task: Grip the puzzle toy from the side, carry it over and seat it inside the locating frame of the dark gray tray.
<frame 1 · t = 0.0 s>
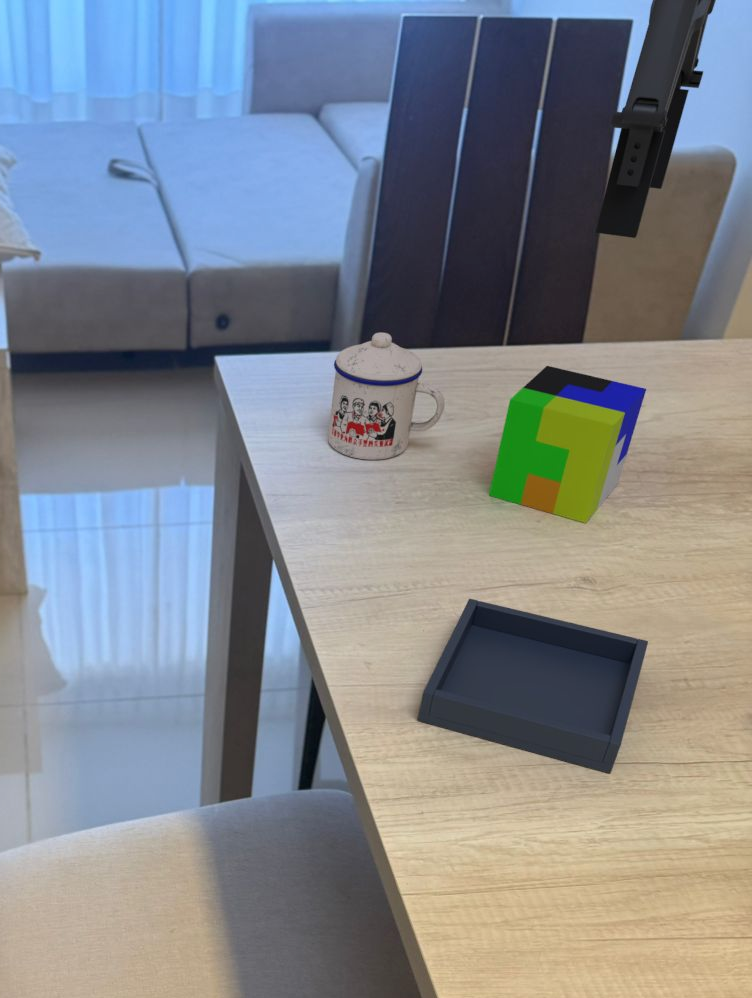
hand: (630, 209, 85), 31 cm above the table, tool pointing down, fingers open, 13 cm apart
dark gray tray: (530, 694, 92), on the table
puzzle toy: (553, 491, 118), on the table
teacup with lid: (380, 447, 125), on the table
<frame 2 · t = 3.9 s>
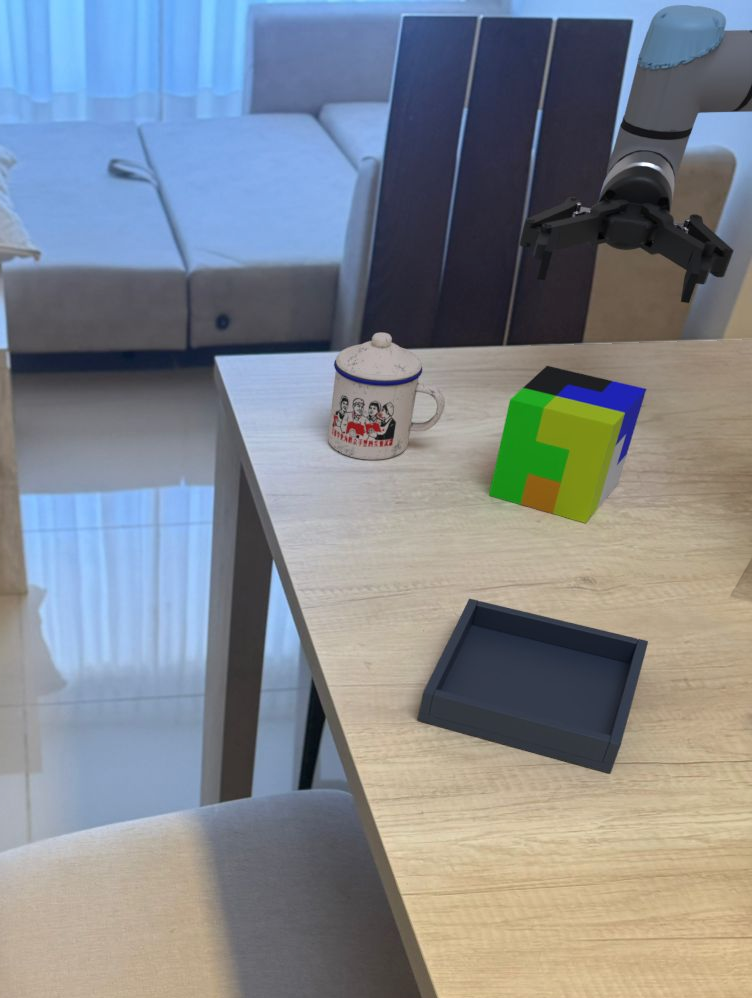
hand: (616, 277, 111), 18 cm above the table, tool horizontal, fingers open, 13 cm apart
nothing on the table moved.
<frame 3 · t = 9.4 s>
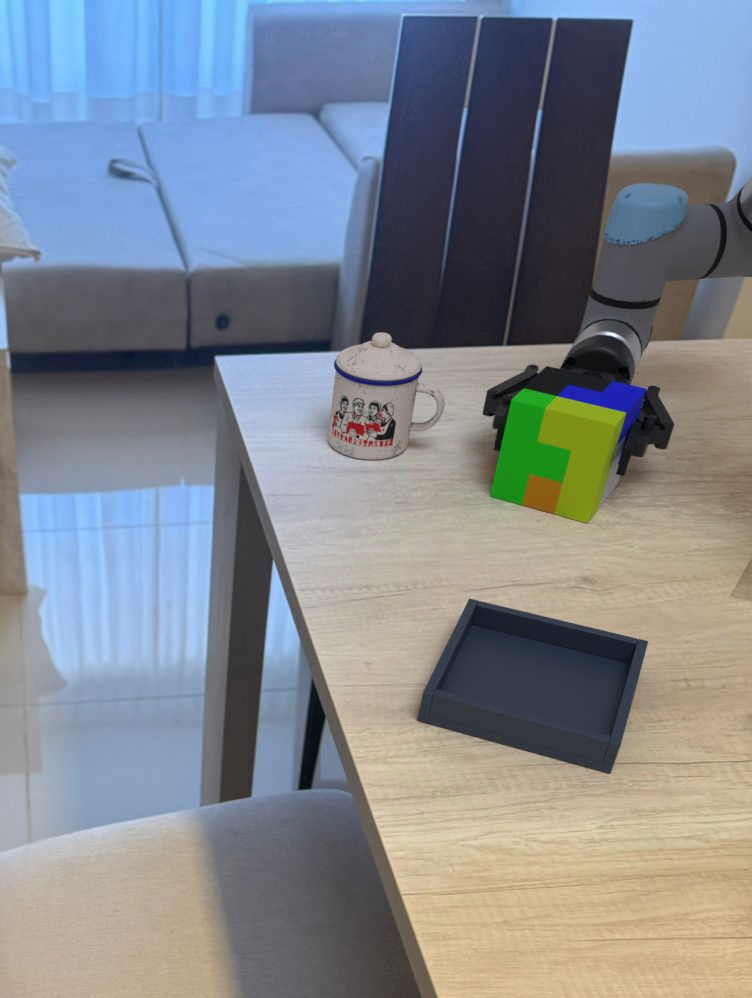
hand: (560, 449, 111), 6 cm above the table, tool horizontal, fingers closed on puzzle toy, 11 cm apart
puzzle toy: (554, 491, 118), on the table, touching gripper
everything else where it was.
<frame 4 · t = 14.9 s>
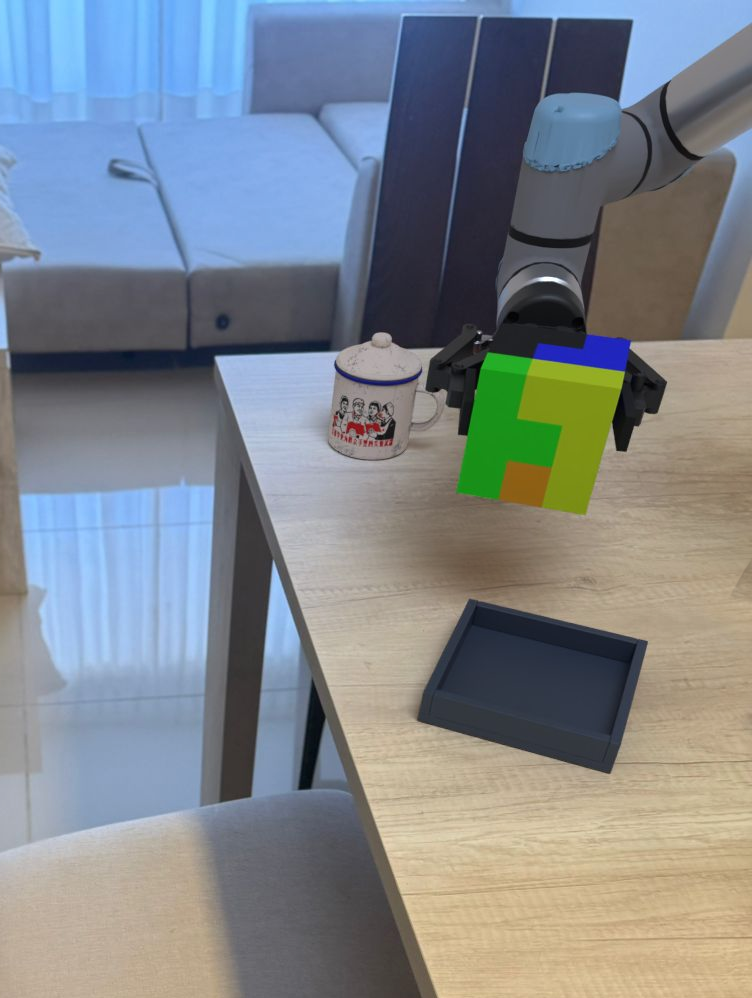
hand: (545, 426, 87), 18 cm above the table, tool horizontal, fingers closed on puzzle toy, 11 cm apart
puzzle toy: (527, 478, 94), point 12 cm above the table, touching gripper
everything else where it was.
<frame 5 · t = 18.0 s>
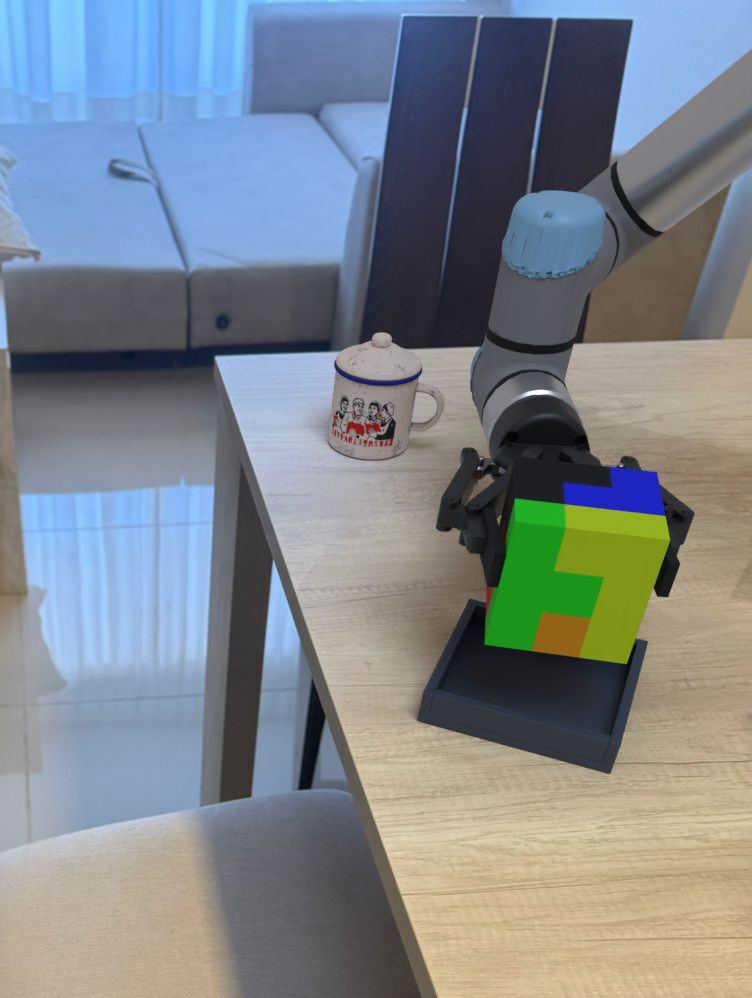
hand: (582, 575, 80), 13 cm above the table, tool horizontal, fingers closed on puzzle toy, 11 cm apart
puzzle toy: (552, 619, 87), point 7 cm above the table, touching gripper
everything else where it was.
when the fingers open (7 cm above the table, at t = 20.4 s): puzzle toy stays where it is, resting on dark gray tray.
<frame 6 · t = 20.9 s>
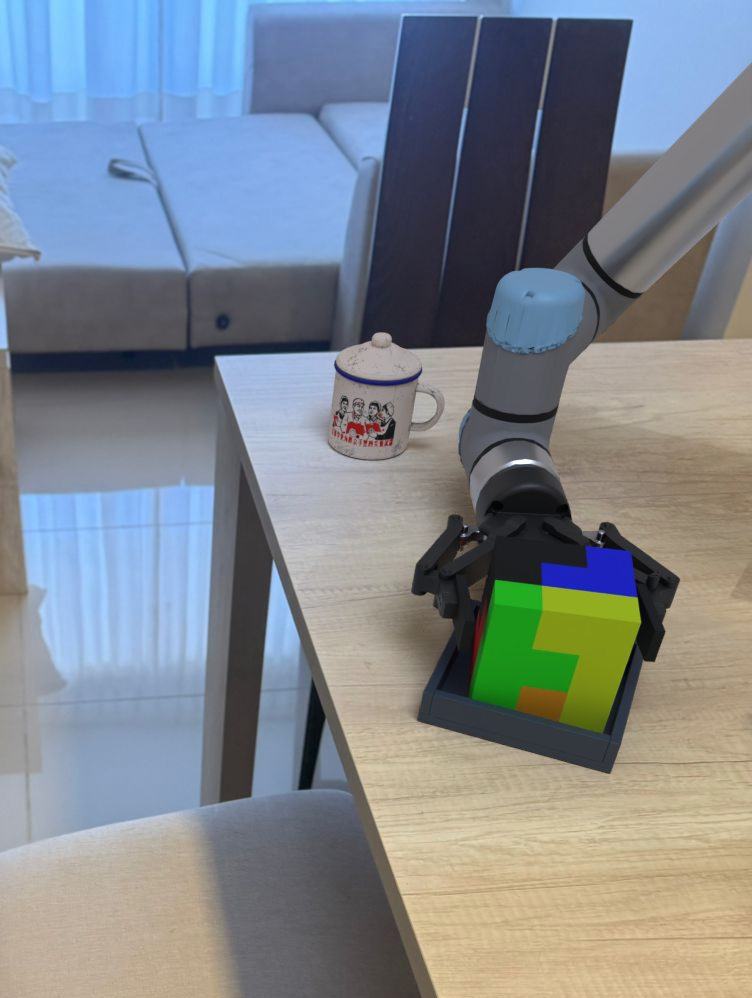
hand: (560, 642, 85), 7 cm above the table, tool horizontal, fingers open, 13 cm apart
puzzle toy: (533, 688, 92), point 1 cm above the table, touching dark gray tray
everything else where it was.
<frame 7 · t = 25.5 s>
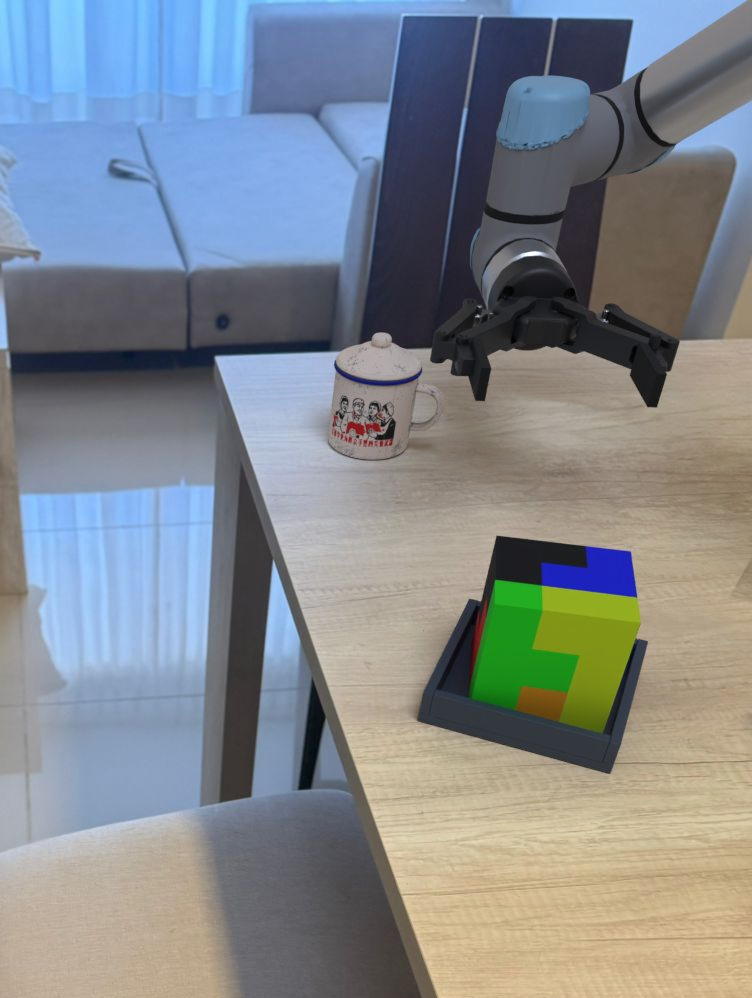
hand: (569, 388, 92), 18 cm above the table, tool horizontal, fingers open, 13 cm apart
nothing on the table moved.
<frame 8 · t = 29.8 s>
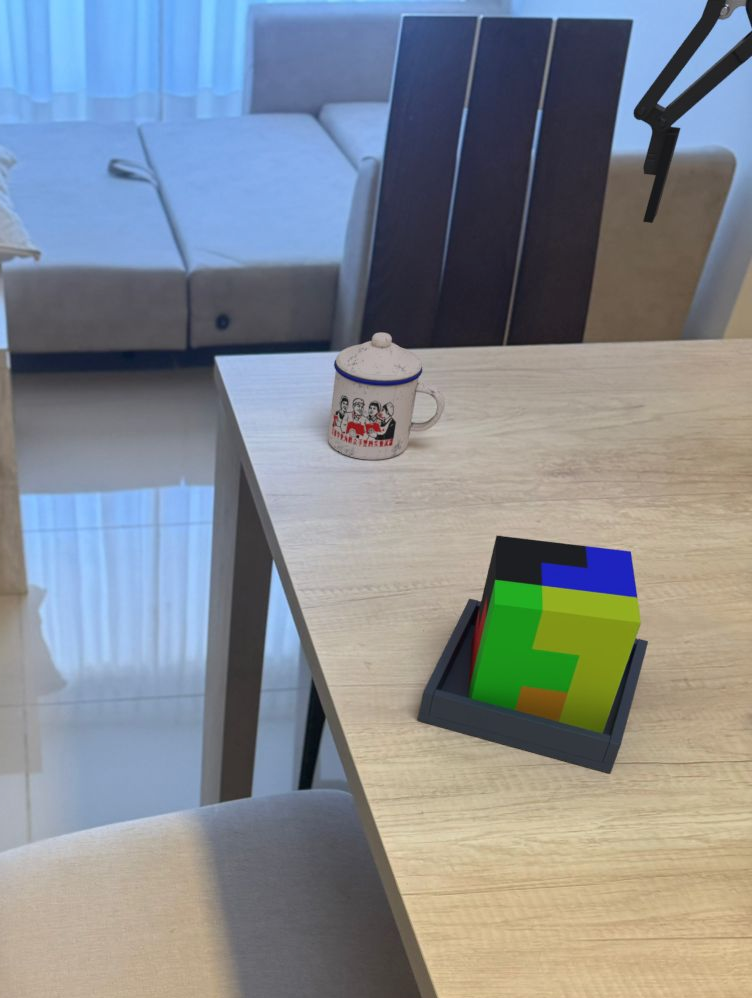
hand: (735, 229, 95), 27 cm above the table, tool pointing down, fingers open, 13 cm apart
nothing on the table moved.
at the end: puzzle toy 0.0 cm off-centre in the dark gray tray, point 0.6 cm above the dark gray tray's base; puzzle toy tilted 0°; the gripper is holding nothing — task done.
